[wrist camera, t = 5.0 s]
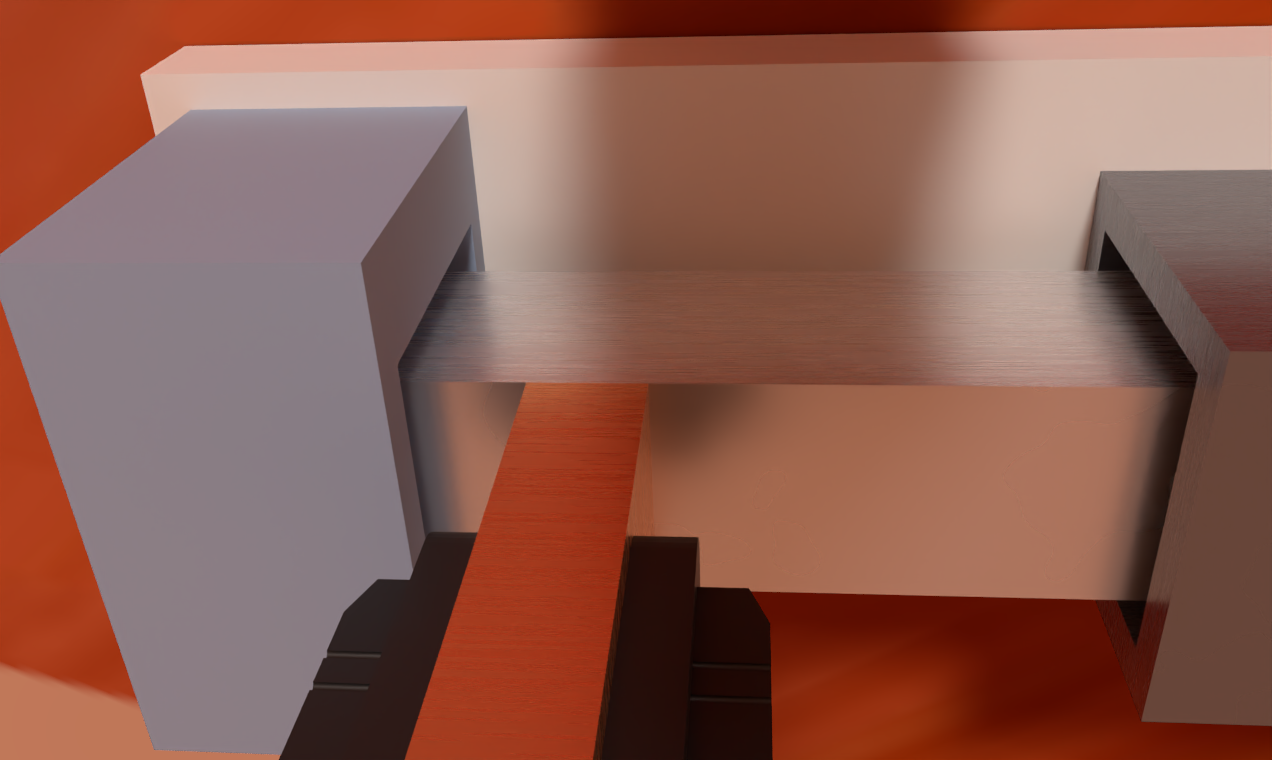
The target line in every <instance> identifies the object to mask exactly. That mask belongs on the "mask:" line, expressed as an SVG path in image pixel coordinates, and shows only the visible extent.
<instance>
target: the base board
mask: <svg viewBox="0 0 1272 760" xmlns="http://www.w3.org/2000/svg"><path fill="white" fill-rule="evenodd" d="M141 79H142V83H143V87H144V91H145V95H146V99H147V103H148V107H149V111H150V115H151V119H152V123H153V127H154V131H155V135H156V136H157V135H158V134H159V133H161V132H162V131H163V130H165V129H166V128H167V127H169V126H170V125H171V124H173V123H174V122H175V121H177V120H178V119H179V118H180V117H182V116H183V115H184V114H186V113H187V112H188V111H190V110H210V109H284V108H358V107H433V106H467V113H468V122H469V131H470V140H471V149H472V158H473V167H474V175H475V184H476V193H477V202H478V211H479V220H480V229H481V237H482V246H483V255H484V264H485V271H1084V269H1085V263H1086V257H1087V251H1088V244H1089V238H1090V232H1091V226H1092V220H1093V214H1094V208H1095V202H1096V196H1097V190H1098V183H1099V177H1100V171H1165V170H1272V26H1243V27H1189V28H1135V29H1081V30H1027V31H974V32H920V33H866V34H812V35H758V36H704V37H650V38H596V39H542V40H489V41H435V42H381V43H327V44H273V45H219V46H185V47H183V48H181V49H180V50H178V51H177V52H175V53H174V54H172V55H170V56H169V57H167V58H166V59H164V60H163V61H161V62H159V63H158V64H156V65H155V66H153V67H152V68H150V69H149V70H147V71H145V72H144V73H142V74H141Z"/></svg>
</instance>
